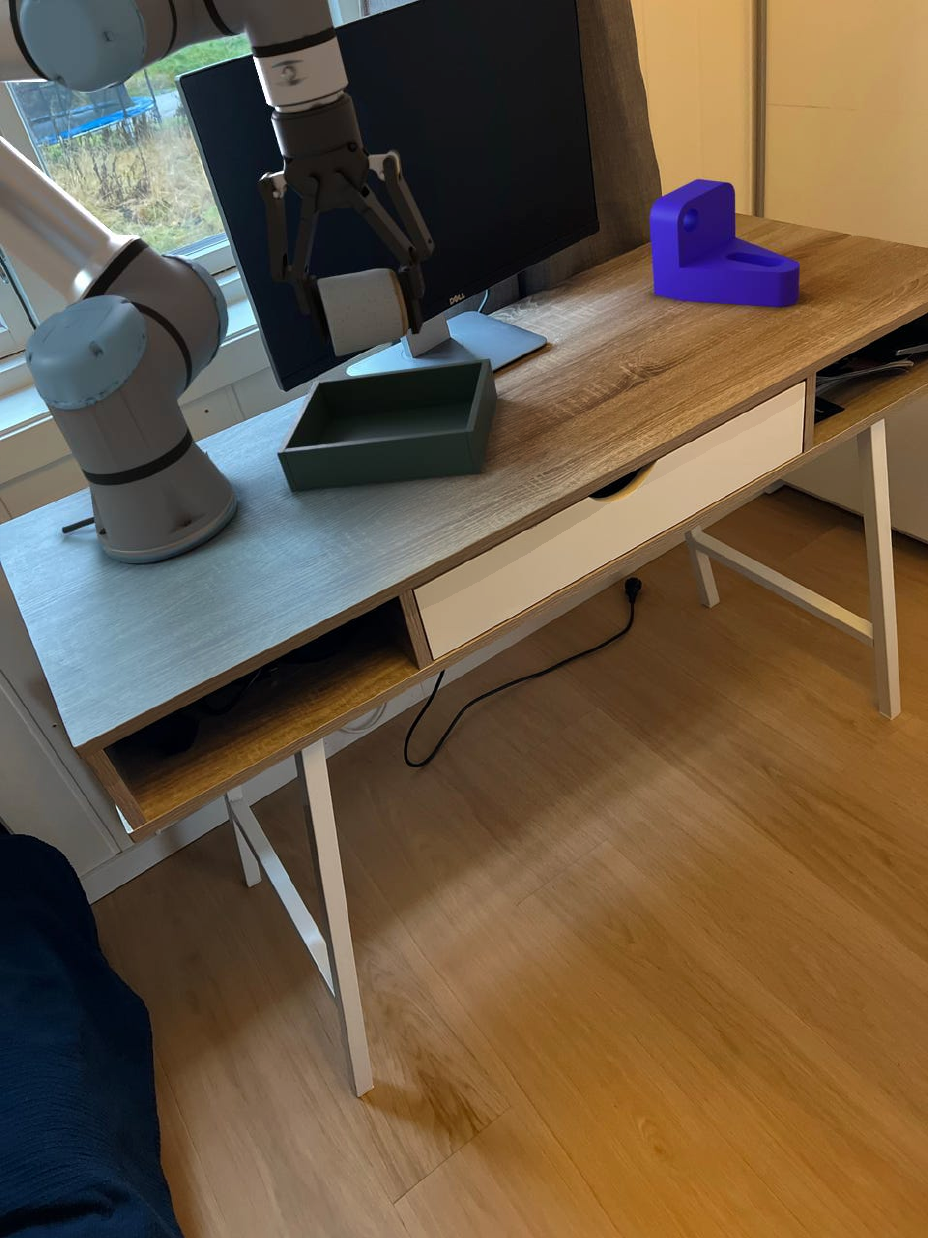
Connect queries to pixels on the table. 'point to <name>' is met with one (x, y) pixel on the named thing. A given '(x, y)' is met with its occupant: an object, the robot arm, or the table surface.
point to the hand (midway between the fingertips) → (371, 334)
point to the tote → (391, 427)
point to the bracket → (714, 252)
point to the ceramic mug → (363, 309)
